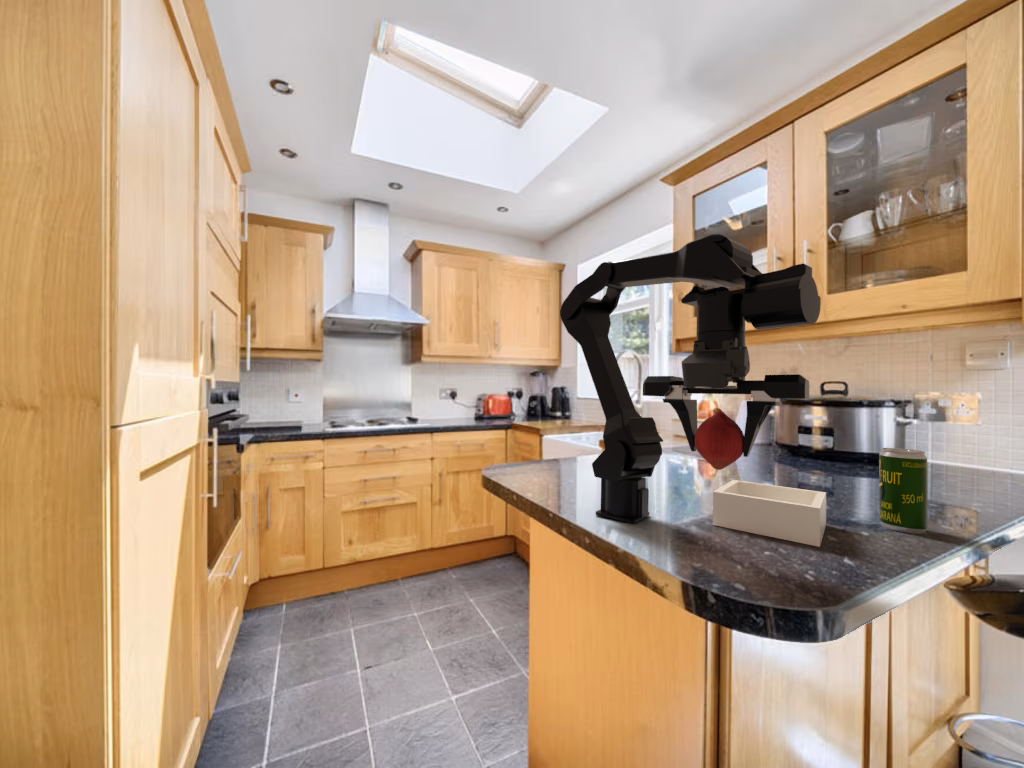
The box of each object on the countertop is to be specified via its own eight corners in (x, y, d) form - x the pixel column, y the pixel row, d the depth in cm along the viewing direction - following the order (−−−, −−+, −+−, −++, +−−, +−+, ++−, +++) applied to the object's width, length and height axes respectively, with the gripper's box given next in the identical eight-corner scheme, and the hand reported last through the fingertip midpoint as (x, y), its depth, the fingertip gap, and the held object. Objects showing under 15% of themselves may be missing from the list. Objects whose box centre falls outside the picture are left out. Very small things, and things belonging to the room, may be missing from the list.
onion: (738, 467, 55) (738, 408, 55) (750, 475, 50) (750, 409, 50) (691, 464, 57) (692, 407, 57) (698, 472, 51) (699, 408, 52)
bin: (712, 524, 62) (713, 491, 62) (732, 508, 72) (733, 479, 72) (819, 546, 54) (819, 508, 54) (826, 524, 64) (826, 492, 64)
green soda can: (901, 523, 66) (901, 447, 66) (938, 534, 60) (937, 452, 61) (869, 523, 65) (869, 447, 66) (904, 534, 60) (903, 451, 60)
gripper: (626, 331, 54) (624, 451, 53) (799, 316, 42) (799, 471, 41) (658, 341, 62) (656, 445, 62) (809, 331, 50) (809, 460, 50)
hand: (718, 453), depth 53 cm, fingers closed on onion, 6 cm apart
